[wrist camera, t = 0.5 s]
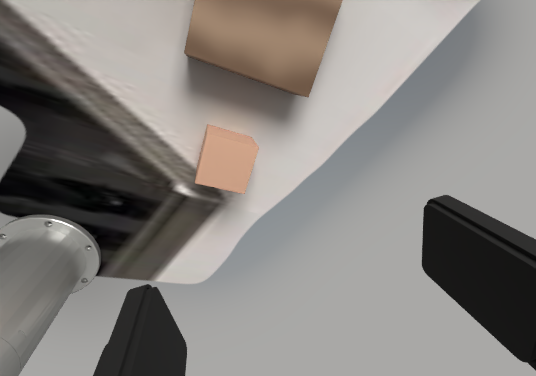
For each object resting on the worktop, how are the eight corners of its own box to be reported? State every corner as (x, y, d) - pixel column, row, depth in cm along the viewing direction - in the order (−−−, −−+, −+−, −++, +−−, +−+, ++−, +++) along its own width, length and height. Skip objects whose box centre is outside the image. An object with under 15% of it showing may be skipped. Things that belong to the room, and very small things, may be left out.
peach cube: (239, 177, 39) (244, 194, 33) (196, 167, 37) (194, 183, 31) (251, 137, 37) (259, 147, 31) (207, 124, 35) (207, 133, 30)
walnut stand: (295, 94, 36) (308, 97, 31) (187, 56, 32) (184, 53, 27) (336, -27, 32) (357, -44, 27) (217, -90, 27) (219, -123, 23)
